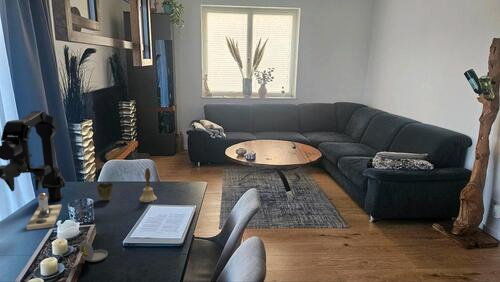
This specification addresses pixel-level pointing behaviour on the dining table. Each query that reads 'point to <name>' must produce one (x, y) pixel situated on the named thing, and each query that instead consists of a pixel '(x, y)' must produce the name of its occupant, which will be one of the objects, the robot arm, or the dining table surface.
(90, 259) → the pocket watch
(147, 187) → the hand bell
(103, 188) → the cup
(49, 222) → the pitch plate
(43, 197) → the grey copper topped cylinder
